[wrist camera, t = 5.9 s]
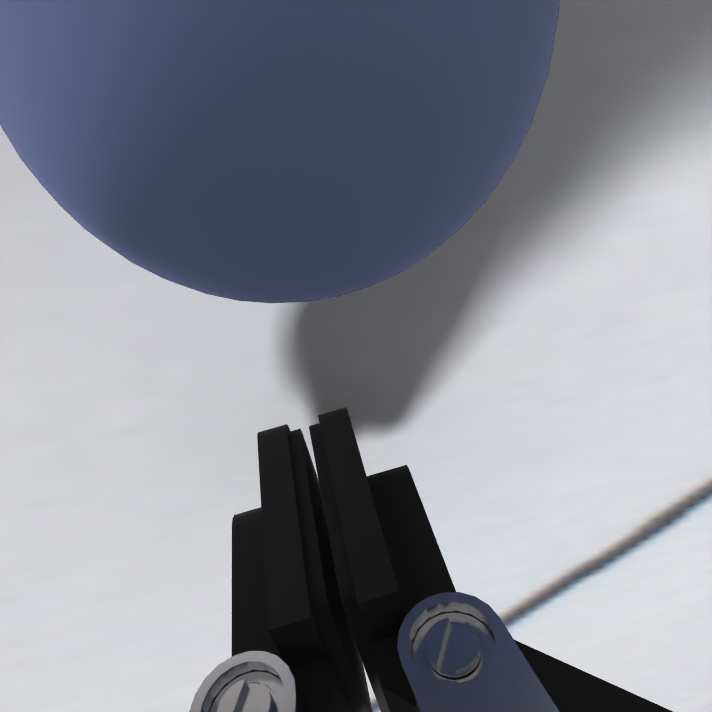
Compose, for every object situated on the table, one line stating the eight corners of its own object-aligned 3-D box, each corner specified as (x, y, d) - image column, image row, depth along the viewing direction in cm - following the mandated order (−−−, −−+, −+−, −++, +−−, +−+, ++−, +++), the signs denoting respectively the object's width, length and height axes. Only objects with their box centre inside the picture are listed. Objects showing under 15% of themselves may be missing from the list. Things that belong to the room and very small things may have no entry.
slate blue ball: (317, -740, 4) (341, -48, 10) (-444, -399, 3) (44, 136, 9) (913, -262, 3) (566, 206, 9) (22, 330, 3) (251, 433, 8)
